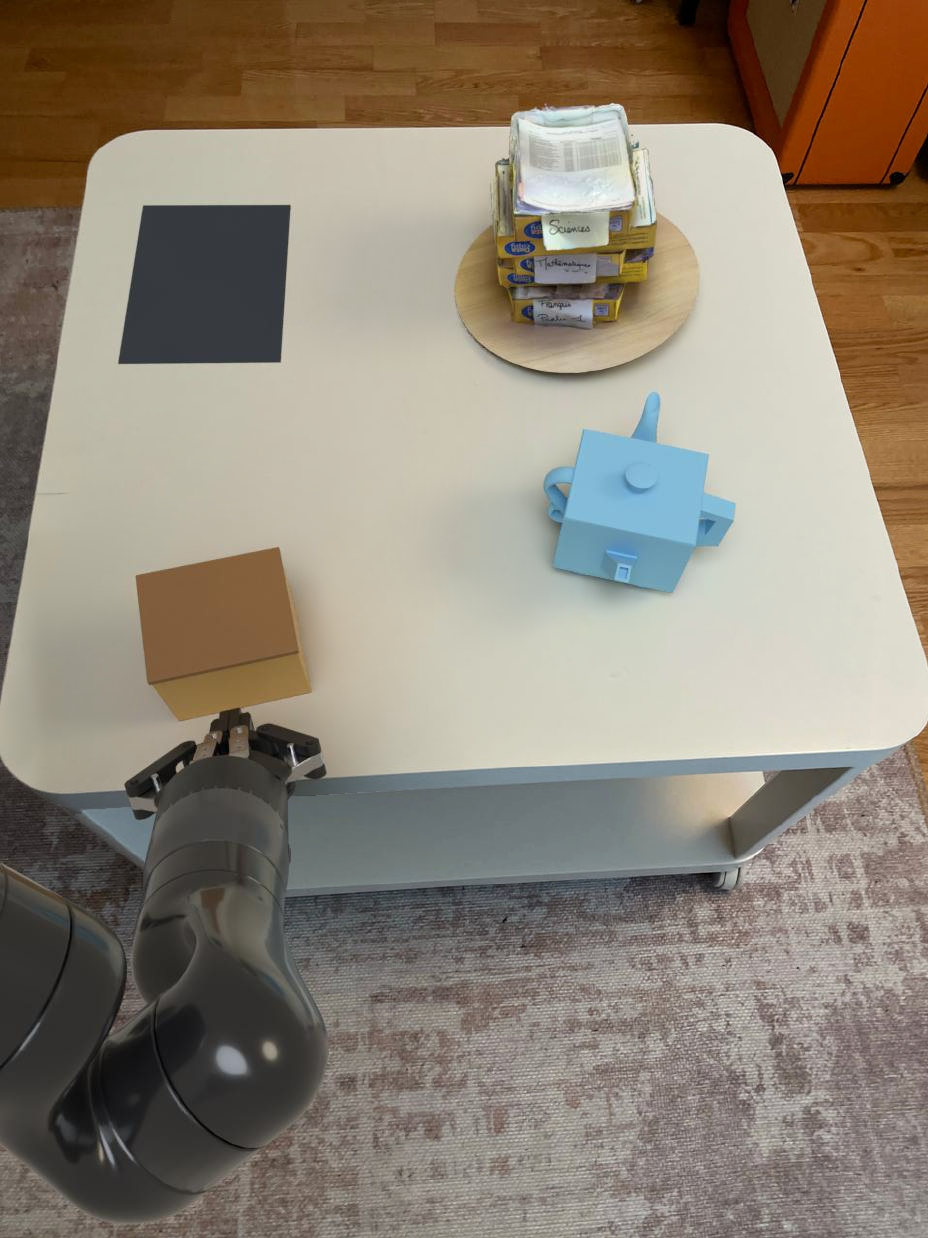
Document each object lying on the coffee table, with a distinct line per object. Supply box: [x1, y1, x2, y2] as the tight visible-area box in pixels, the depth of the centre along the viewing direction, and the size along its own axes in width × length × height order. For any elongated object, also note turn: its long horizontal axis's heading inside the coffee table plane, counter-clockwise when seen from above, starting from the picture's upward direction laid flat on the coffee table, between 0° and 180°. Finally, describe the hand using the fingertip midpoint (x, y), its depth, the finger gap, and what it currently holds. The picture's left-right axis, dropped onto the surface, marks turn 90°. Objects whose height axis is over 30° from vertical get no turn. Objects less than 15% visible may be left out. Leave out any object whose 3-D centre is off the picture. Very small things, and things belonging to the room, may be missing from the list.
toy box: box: [135, 546, 312, 722], centre depth 76 cm, size 9×11×9 cm
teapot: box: [543, 391, 737, 594], centre depth 81 cm, size 16×18×11 cm
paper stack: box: [454, 102, 701, 374], centre depth 91 cm, size 25×25×17 cm
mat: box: [117, 204, 292, 365], centre depth 98 cm, size 16×22×1 cm
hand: (233, 721), depth 68 cm, fingers closed
